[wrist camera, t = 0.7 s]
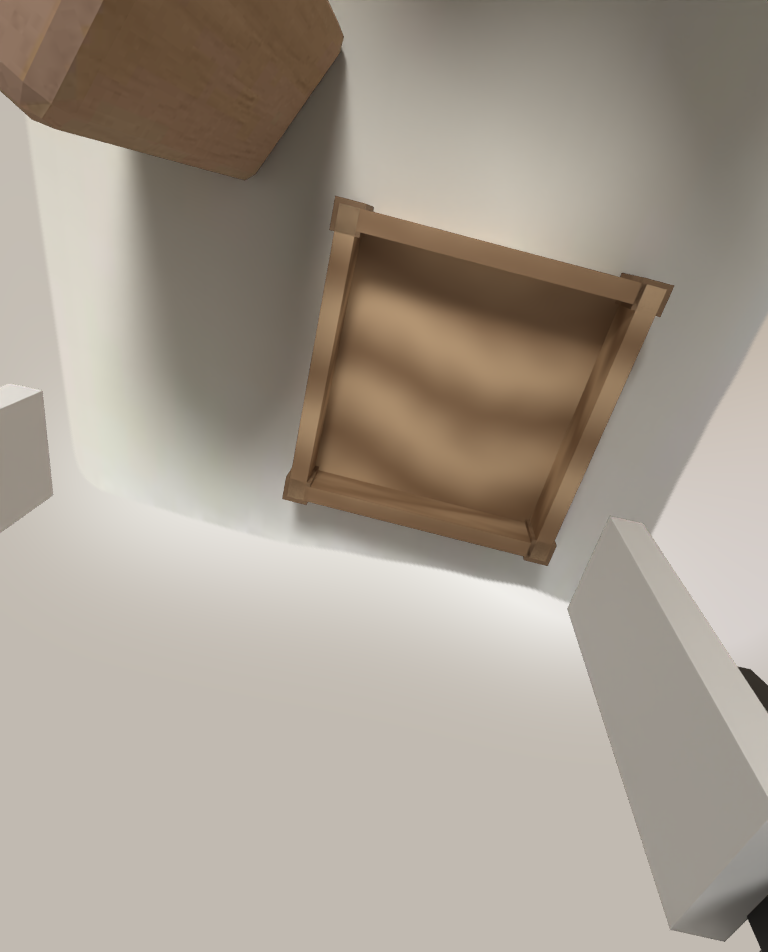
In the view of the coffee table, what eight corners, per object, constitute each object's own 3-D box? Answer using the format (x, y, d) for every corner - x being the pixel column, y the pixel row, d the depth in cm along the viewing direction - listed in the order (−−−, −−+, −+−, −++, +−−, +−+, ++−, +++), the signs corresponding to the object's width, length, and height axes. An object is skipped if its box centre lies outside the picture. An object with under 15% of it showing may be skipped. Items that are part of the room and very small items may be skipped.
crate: (346, 199, 34) (335, 195, 30) (649, 279, 34) (674, 285, 30) (295, 475, 42) (282, 498, 38) (537, 537, 42) (547, 565, 39)
